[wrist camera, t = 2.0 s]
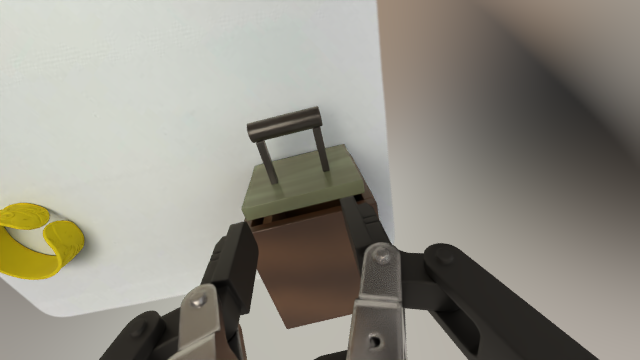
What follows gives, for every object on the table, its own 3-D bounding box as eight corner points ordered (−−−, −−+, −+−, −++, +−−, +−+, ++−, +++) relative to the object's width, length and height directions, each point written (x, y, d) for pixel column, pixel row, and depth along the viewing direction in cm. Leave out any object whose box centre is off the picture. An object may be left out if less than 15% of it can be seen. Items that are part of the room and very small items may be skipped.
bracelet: (67, 266, 30) (43, 290, 27) (-13, 232, 27) (-49, 254, 24) (96, 232, 28) (74, 253, 26) (14, 190, 25) (-22, 209, 22)
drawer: (235, 114, 23) (210, 143, 16) (333, 90, 23) (351, 108, 16) (286, 246, 31) (284, 302, 24) (359, 228, 31) (379, 280, 24)
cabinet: (256, 177, 27) (239, 235, 19) (350, 153, 27) (376, 202, 18) (288, 257, 33) (286, 329, 25) (365, 239, 33) (390, 305, 25)
